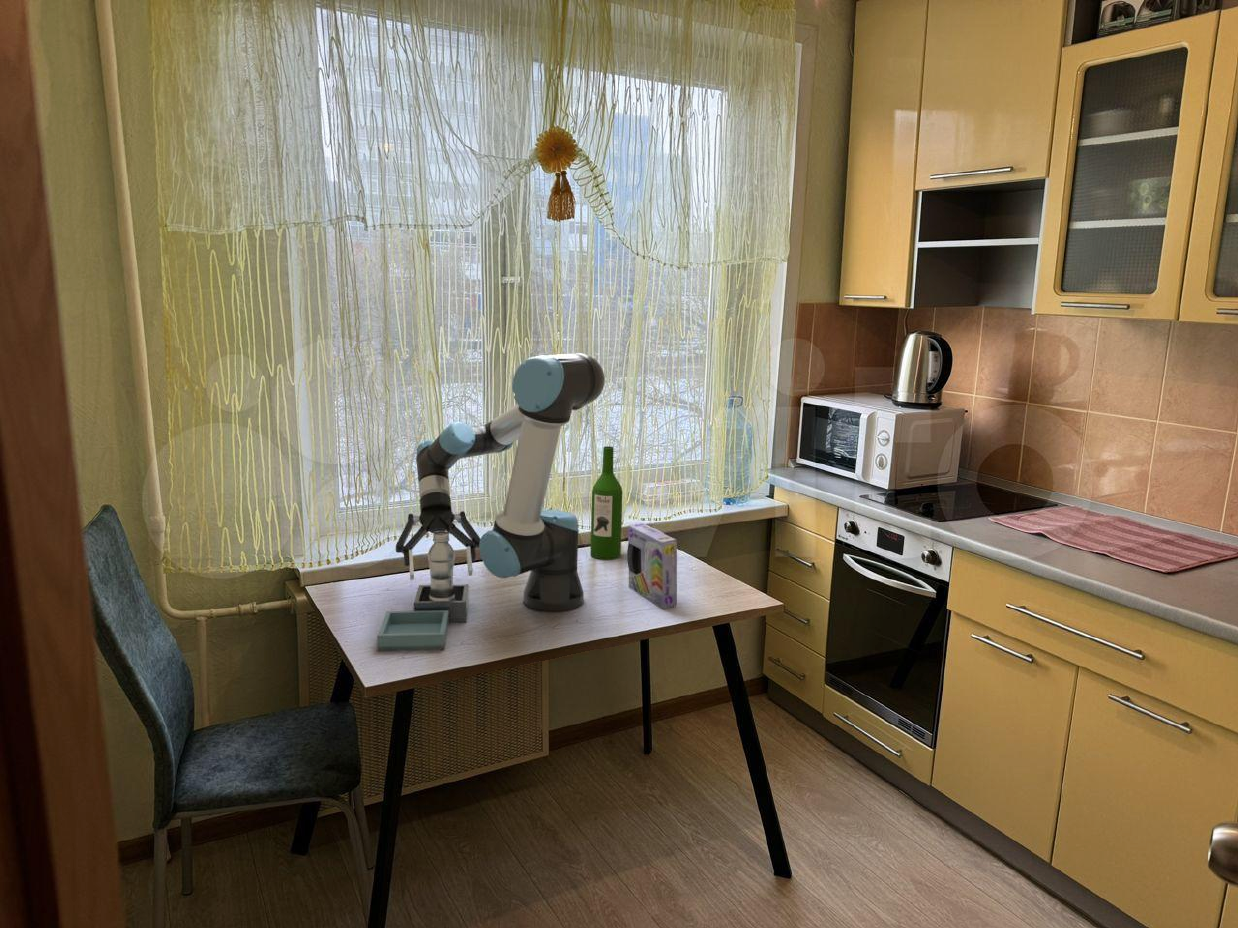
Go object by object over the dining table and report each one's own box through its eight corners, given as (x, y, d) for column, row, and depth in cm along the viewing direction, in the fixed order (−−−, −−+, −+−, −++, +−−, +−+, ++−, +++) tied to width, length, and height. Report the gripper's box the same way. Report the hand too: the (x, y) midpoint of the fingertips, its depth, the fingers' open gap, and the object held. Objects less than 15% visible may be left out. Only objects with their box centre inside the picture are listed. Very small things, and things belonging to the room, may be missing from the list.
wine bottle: (587, 558, 251) (590, 449, 244) (593, 549, 260) (596, 443, 253) (617, 561, 250) (621, 450, 243) (622, 552, 258) (626, 445, 251)
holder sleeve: (468, 603, 214) (468, 584, 213) (466, 622, 202) (466, 602, 201) (419, 604, 212) (419, 585, 211) (414, 623, 201) (413, 603, 200)
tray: (448, 624, 201) (448, 610, 200) (444, 649, 187) (444, 634, 187) (387, 625, 199) (386, 611, 198) (377, 651, 186) (377, 635, 185)
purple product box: (624, 585, 230) (626, 521, 226) (641, 583, 232) (643, 520, 228) (660, 610, 213) (663, 542, 209) (677, 607, 215) (680, 539, 212)
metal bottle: (432, 620, 203) (431, 538, 199) (425, 610, 209) (423, 530, 205) (459, 616, 206) (458, 535, 202) (451, 606, 212) (450, 528, 208)
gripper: (483, 503, 221) (492, 578, 210) (383, 507, 214) (386, 585, 203) (486, 488, 215) (496, 564, 204) (383, 492, 208) (387, 571, 197)
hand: (441, 575), depth 204 cm, fingers open, 13 cm apart
